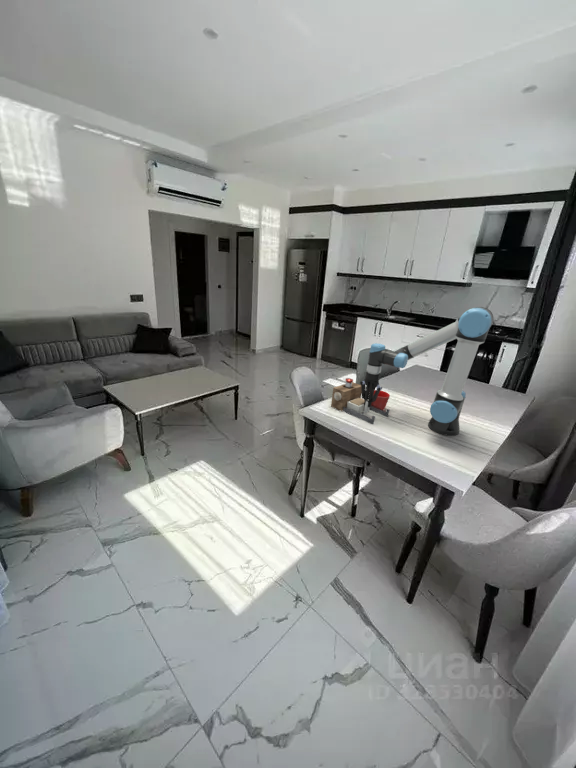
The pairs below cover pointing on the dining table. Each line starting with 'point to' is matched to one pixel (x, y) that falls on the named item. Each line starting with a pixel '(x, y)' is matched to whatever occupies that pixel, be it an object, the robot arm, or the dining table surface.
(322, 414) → the dining table surface
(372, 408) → the rail channel
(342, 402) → the end cabinet
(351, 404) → the block
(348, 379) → the cylinder
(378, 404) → the flower pot
